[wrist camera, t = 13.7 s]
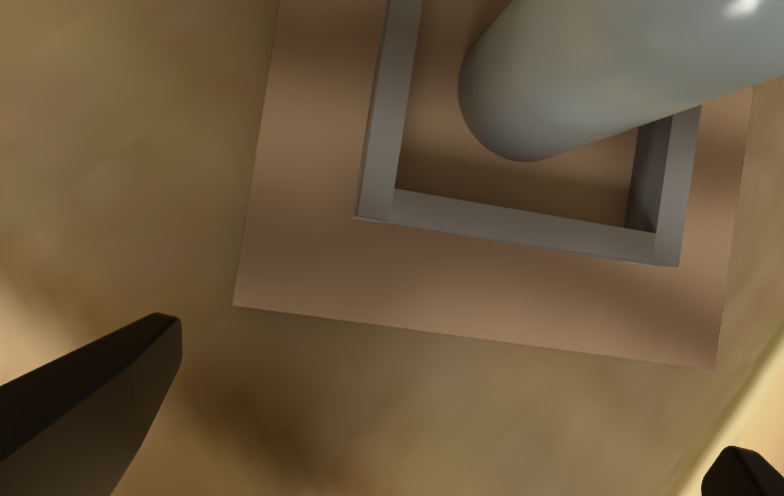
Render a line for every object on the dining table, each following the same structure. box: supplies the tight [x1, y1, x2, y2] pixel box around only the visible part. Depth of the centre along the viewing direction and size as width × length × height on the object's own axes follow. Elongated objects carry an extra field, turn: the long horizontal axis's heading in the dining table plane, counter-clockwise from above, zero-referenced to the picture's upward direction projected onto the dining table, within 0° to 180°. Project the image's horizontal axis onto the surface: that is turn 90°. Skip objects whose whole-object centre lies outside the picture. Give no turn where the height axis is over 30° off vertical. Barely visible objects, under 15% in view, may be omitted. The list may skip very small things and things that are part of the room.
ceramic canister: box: [458, 0, 784, 162], centre depth 15 cm, size 5×5×12 cm
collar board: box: [232, 0, 754, 370], centre depth 20 cm, size 18×18×3 cm
